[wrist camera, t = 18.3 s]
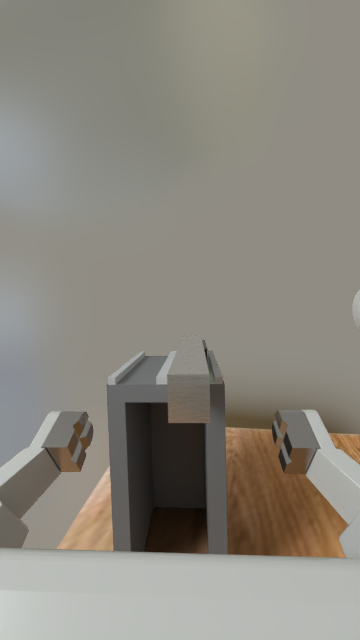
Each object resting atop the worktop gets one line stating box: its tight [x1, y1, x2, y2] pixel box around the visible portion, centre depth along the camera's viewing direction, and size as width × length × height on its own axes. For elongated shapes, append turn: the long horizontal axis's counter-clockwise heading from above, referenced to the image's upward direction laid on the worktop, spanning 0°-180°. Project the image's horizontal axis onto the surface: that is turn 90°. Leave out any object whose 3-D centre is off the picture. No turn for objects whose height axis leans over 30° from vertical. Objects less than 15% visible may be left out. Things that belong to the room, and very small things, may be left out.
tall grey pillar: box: [107, 351, 228, 554], centre depth 35 cm, size 16×13×27 cm
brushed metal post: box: [167, 336, 210, 423], centre depth 29 cm, size 24×4×4 cm, turn 176°
